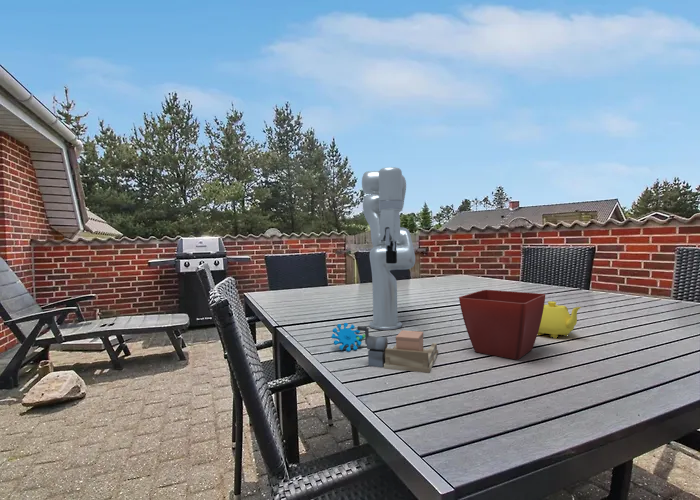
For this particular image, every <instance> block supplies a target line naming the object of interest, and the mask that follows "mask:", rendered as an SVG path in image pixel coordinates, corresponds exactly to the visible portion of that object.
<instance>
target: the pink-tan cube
mask: <svg viewBox="0 0 700 500" xmlns="http://www.w3.org/2000/svg"><path fill="white" fill-rule="evenodd" d="M395 341H396V342H395V345H396V349H403V350H415V351H423V349H424V331H416V330H415V331H414V330H403V329H401V331H400V332H399V333H398V334H397V335H396V336H395Z"/></svg>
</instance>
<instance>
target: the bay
mask: <svg viewBox="0 0 700 500" xmlns="http://www.w3.org/2000/svg"><path fill="white" fill-rule="evenodd" d="M356 330H358V331H360V332H361V331H363V332H364V334H365V338H364V339H365V342H364V344H365V345H366V349H367V350H368V351H367V357H368V358H367V361H368V364H367V365H368V366H369V367H377V368H384V369H389V370H397V371H398V370H399V371H408V372H409V371H410V372H418V373H419V372H420V373H430V372H431V370H432V368H433V366H434V363H435V361H436V359H437V357H438V355H439V349H437V348H438V347H437V344H438V343H437V342H431V345H430V347H429V348H423V351H415V350H403V349H396V344H395V345H394V346H393V347H392V348H389V347H388V342H389V341H388V337H386V336H377V335H376V336H374V335H370V334H369V332H370V331H369V330H370V329H369V327H368V326H365V325H364V326H362V325H359V326H357V328H356Z"/></svg>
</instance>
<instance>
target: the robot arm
mask: <svg viewBox="0 0 700 500" xmlns="http://www.w3.org/2000/svg"><path fill="white" fill-rule="evenodd" d="M402 172H403V171H402V169H400V167H396V166H395V167H394V166H391V167H390V166H387V167H382V168H380V169H379V170H371V171H370V170H369V171H366V172H364V173H362V174H363V175H362V177H361V188H362V189H361V190H363V193H364V194H367V195H366V196H365V197H364V198H363V200H362V211H363V215H364V217H365V220H366V222H367V224H368V225H369V228H370V237H371V238H370V239H371V244H372V246H373V247H372V248H371V249H370V251H369V262H370V269H371V277H372V283H371V284H372V285H371V287H372V316H373V317H372V321H370V322H369V323H368V324H369V327H370V328H371V329H375V330H382V331H383V330H385V331H386V330H387V331H388V330H389V331H390V330H397V329H400V328H401V327H402V325H403V324H402V322H401V321H399V319H398V281H397V279H396V277H395V276H394V275H393V274H392V273H391V271H395V270H401V271H402V270H410V269H412V268H414V266H415V263H416V254H415V248H414V245H413V239H412V236H411V232H410V231H409V229H408V228H406V227H404V226H403V227H401V220H400V219H401V217H400V213H401V212H403V209H404V205H405V198H406V192H407V181H406V178H405V176H404V175H403V173H402Z"/></svg>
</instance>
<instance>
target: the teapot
mask: <svg viewBox="0 0 700 500" xmlns="http://www.w3.org/2000/svg"><path fill="white" fill-rule="evenodd" d="M581 308H582V306H578V307H574V308H573V309H572V310H571V314H570V312H569V309H568V307H567V306H566V305H563V304H562V305H558V304H557V301H547V304H544V309H543V314H542V319H541V323H540V327H539V331H538V334H543V335H544V334H549V335H550V338H551V337H553V338H557V337H558V338H559V335H560V336H562V335H565V336H564V337H568V336H567V335H569V334H570V333H571V332H572V331H573V330H574V329H575V326H576V325H577V323H578V311H579V310H580V309H581ZM553 338H552V339H553Z"/></svg>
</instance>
